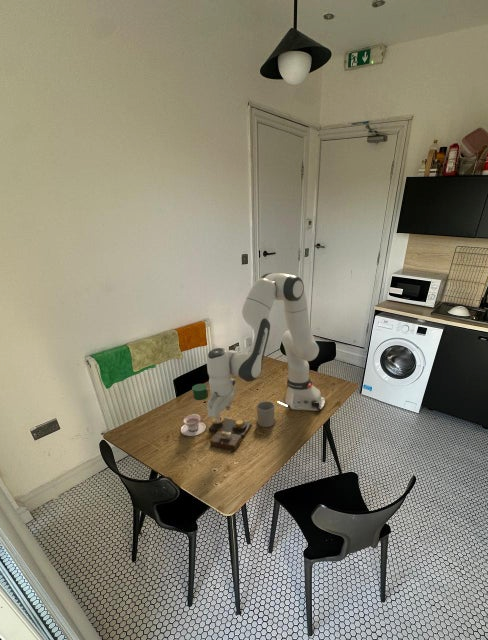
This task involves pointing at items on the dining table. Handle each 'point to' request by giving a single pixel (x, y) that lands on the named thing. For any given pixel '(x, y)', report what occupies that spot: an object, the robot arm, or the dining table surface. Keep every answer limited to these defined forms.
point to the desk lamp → (203, 397)
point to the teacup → (192, 425)
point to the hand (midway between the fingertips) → (223, 415)
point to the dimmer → (226, 441)
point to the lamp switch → (239, 423)
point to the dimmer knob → (225, 435)
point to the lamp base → (231, 427)
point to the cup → (265, 414)
